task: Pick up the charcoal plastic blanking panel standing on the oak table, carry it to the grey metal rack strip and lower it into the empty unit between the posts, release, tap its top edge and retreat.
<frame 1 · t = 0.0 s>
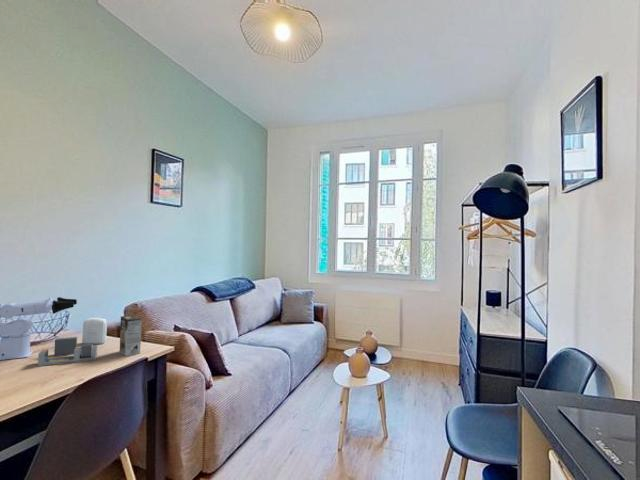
hand: (75, 303, 152), 22 cm above the table, tool horizontal, fingers open, 7 cm apart
blanking panel: (65, 354, 147), on the table
rack: (68, 360, 138), on the table
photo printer: (94, 343, 163), on the table
coffee box: (129, 352, 151), on the table
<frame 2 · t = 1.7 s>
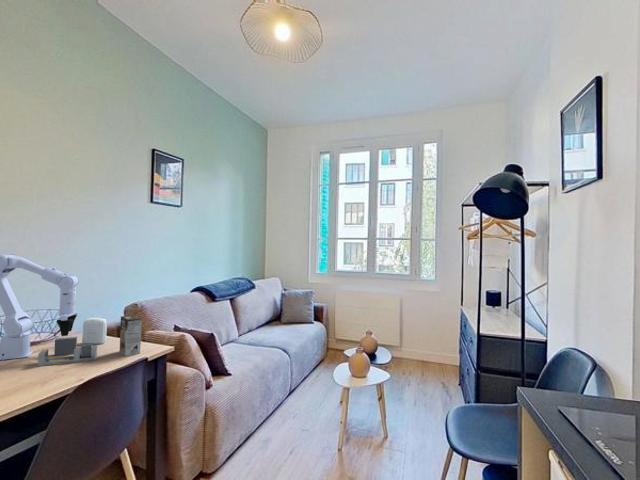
hand: (66, 333, 147), 9 cm above the table, tool pointing down, fingers open, 7 cm apart
nothing on the table moved.
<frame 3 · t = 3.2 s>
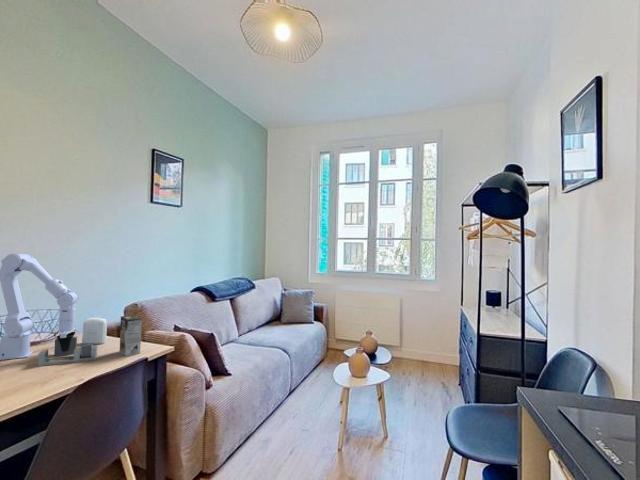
hand: (65, 350, 147), 2 cm above the table, tool pointing down, fingers closed on blanking panel, 2 cm apart
blanking panel: (65, 353, 147), on the table, touching gripper
everything else where it was.
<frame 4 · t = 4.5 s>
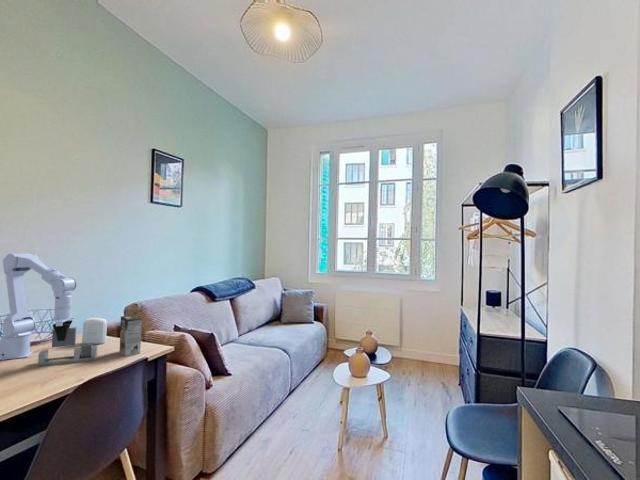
hand: (62, 339, 138), 9 cm above the table, tool pointing down, fingers closed on blanking panel, 2 cm apart
blanking panel: (63, 345, 138), point 7 cm above the table, touching gripper
everything else where it was.
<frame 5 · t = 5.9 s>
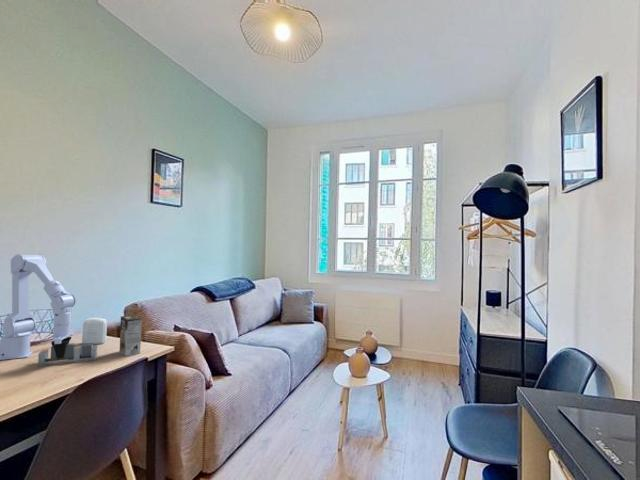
hand: (60, 356, 137), 2 cm above the table, tool pointing down, fingers closed on blanking panel, 2 cm apart
blanking panel: (62, 361, 137), resting in rack, touching gripper
everything else where it was.
when the fingers open (2 cm above the table, at t = 6.2 s): blanking panel stays where it is, resting in rack.
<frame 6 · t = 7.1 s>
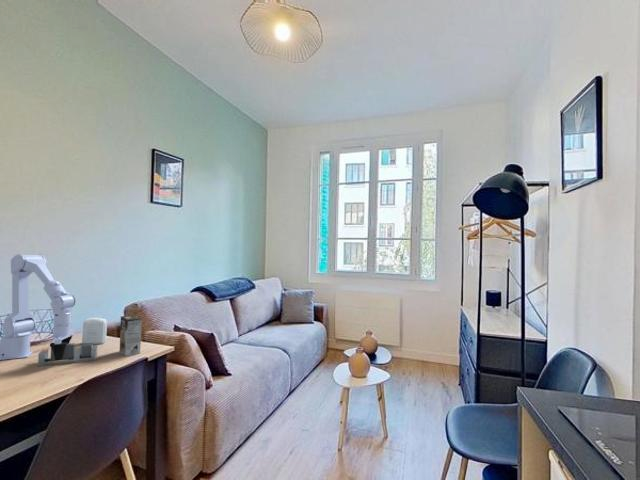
hand: (60, 356, 137), 2 cm above the table, tool pointing down, fingers open, 7 cm apart
blanking panel: (62, 361, 137), resting in rack
everything else where it was.
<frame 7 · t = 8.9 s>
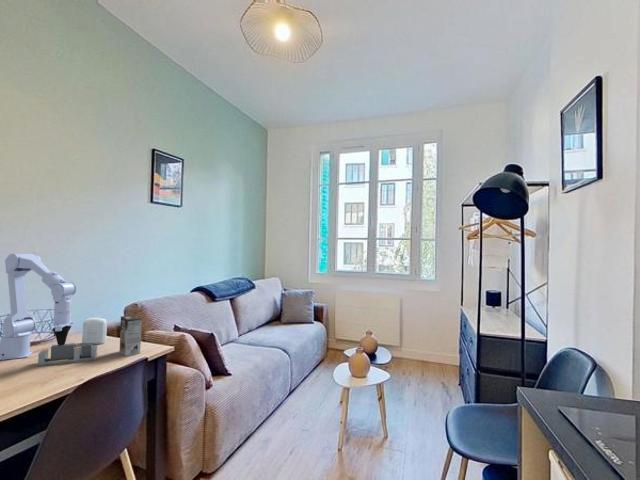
hand: (61, 344, 137), 7 cm above the table, tool pointing down, fingers closed
nothing on the table moved.
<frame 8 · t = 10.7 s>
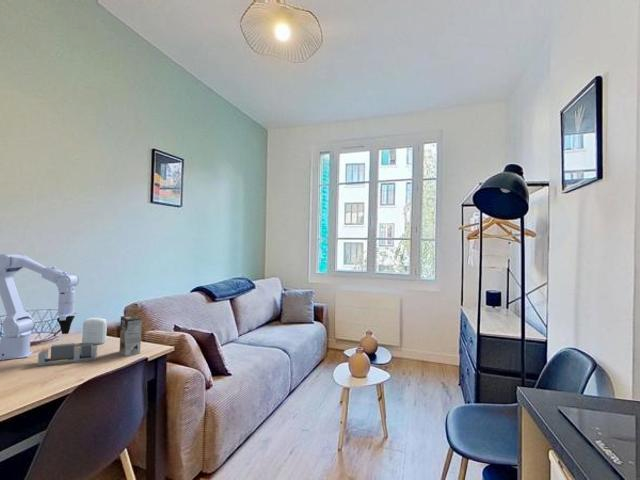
hand: (65, 333, 144), 10 cm above the table, tool pointing down, fingers closed
nothing on the table moved.
at the end: blanking panel 0.6 cm from the target spot on the rack, point 0.0 cm above the rack's base; blanking panel tilted 0°; the gripper is holding nothing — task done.
